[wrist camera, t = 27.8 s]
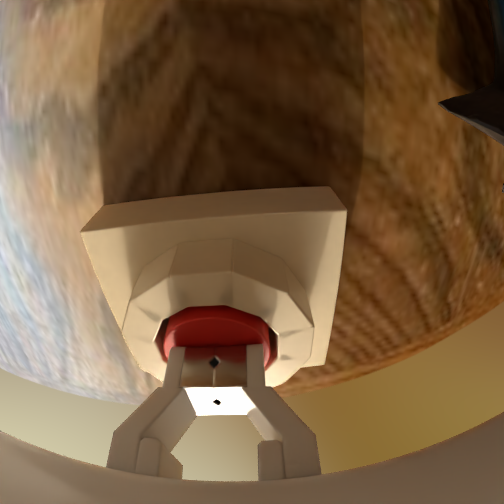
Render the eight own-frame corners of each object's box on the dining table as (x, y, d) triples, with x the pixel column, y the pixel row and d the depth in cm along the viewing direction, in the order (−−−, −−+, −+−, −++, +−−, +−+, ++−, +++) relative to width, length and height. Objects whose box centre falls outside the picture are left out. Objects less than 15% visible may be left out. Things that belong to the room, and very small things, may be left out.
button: (182, 349, 12) (177, 383, 10) (160, 283, 10) (149, 319, 8) (268, 346, 12) (271, 381, 10) (265, 277, 10) (269, 314, 8)
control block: (150, 340, 15) (135, 401, 12) (102, 205, 11) (55, 260, 7) (316, 332, 15) (331, 395, 12) (330, 185, 11) (368, 238, 7)
